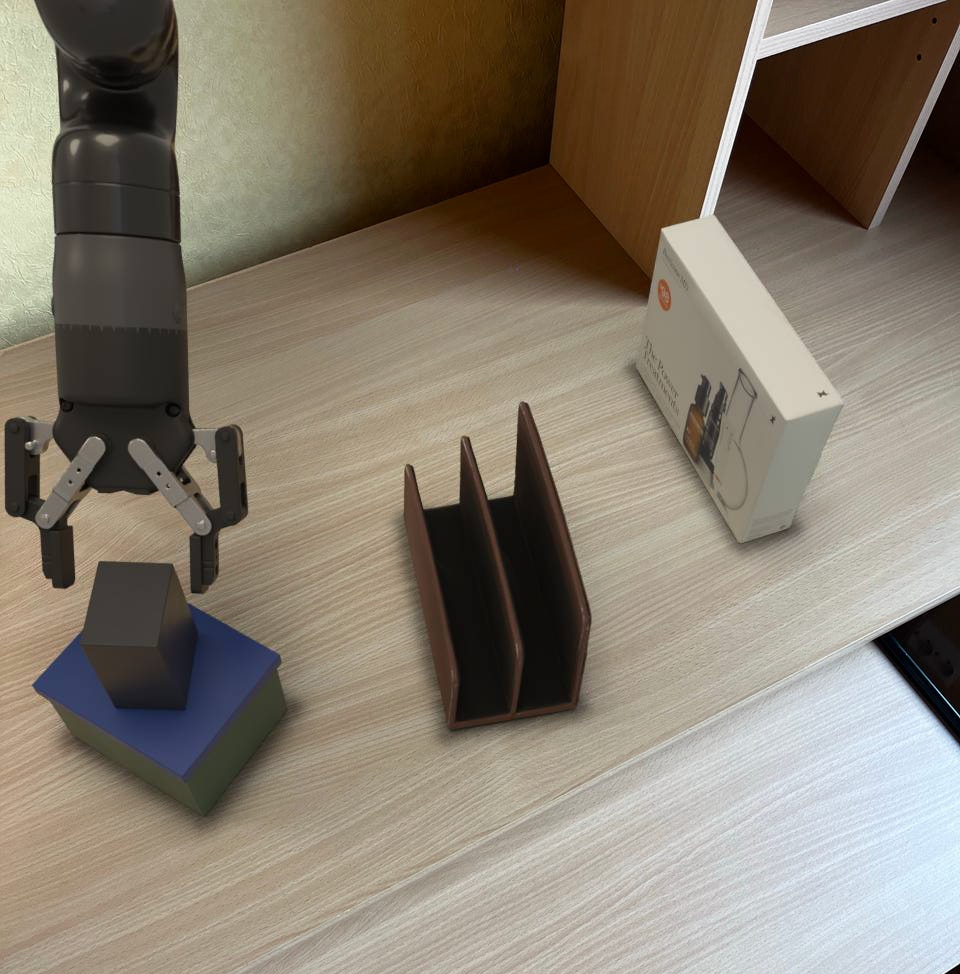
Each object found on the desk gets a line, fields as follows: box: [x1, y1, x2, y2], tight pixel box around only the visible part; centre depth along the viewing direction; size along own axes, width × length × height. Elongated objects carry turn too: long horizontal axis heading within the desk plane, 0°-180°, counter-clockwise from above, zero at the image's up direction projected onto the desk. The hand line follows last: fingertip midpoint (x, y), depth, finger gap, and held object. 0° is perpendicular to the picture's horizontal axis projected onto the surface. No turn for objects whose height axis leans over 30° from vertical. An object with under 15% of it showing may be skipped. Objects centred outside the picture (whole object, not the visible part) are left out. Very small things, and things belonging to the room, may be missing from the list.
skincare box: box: [635, 214, 845, 544], centre depth 89 cm, size 21×6×16 cm, turn 21°
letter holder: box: [403, 400, 593, 731], centre depth 80 cm, size 10×20×14 cm, turn 12°
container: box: [31, 601, 288, 817], centre depth 77 cm, size 13×11×8 cm
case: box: [80, 560, 198, 710], centre depth 70 cm, size 5×6×8 cm
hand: (132, 589), depth 69 cm, fingers open, 8 cm apart
